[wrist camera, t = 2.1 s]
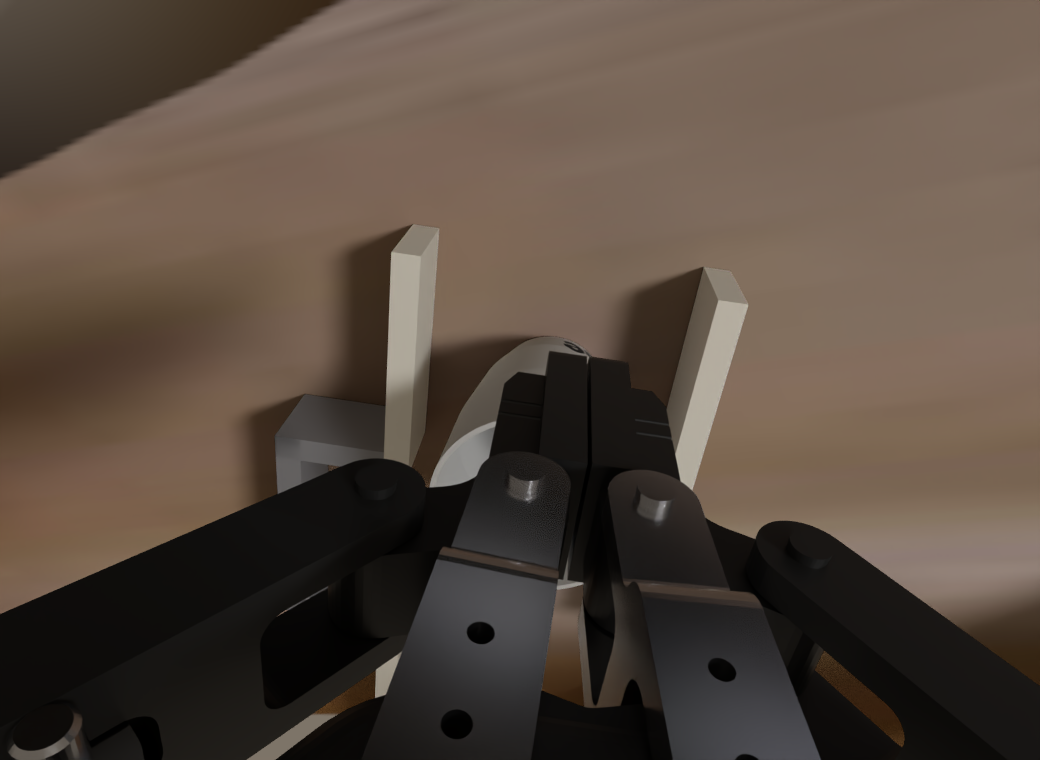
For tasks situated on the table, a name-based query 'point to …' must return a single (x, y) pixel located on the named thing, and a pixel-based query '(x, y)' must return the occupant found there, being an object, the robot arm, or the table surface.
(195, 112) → the table surface
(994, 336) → the table surface
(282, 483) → the box
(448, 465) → the cup
